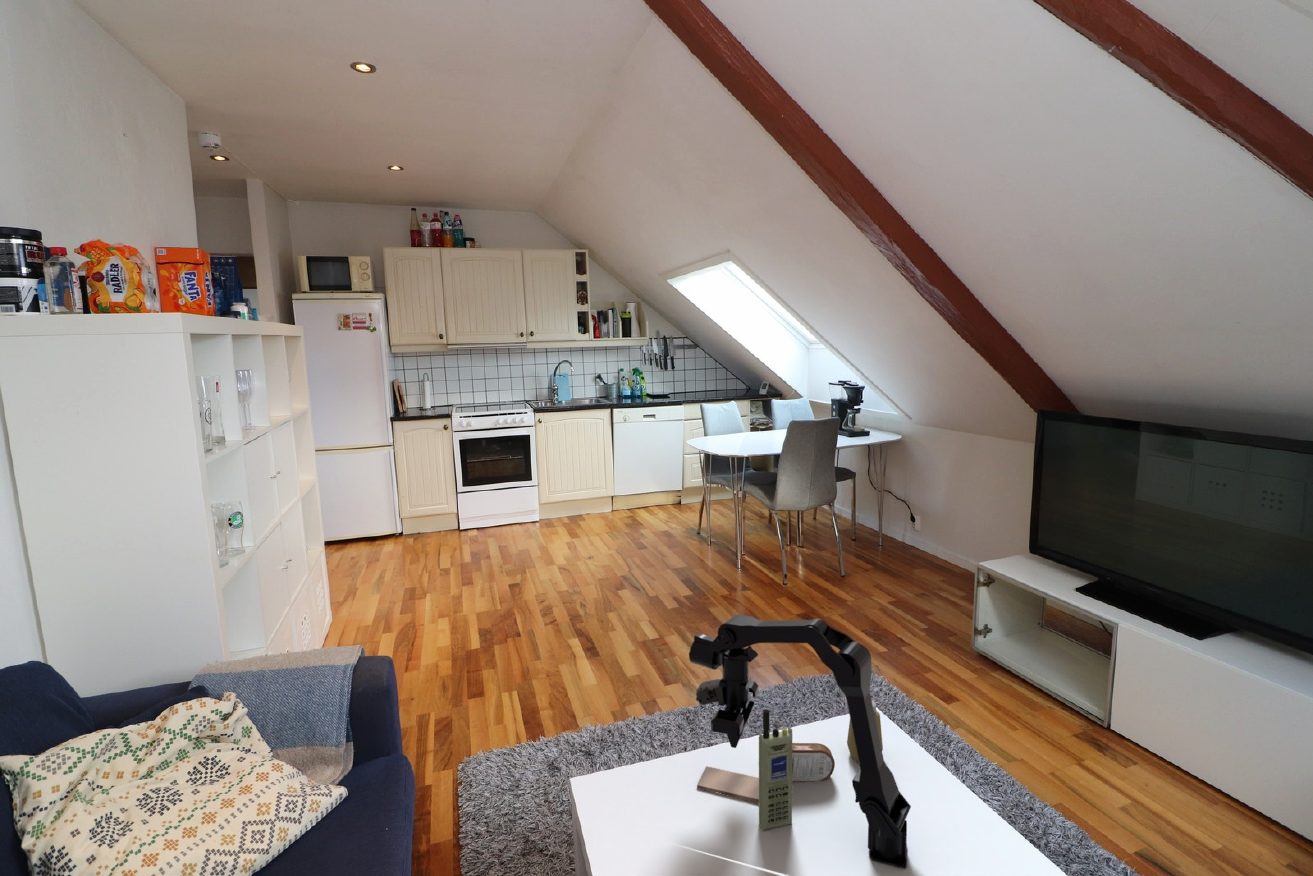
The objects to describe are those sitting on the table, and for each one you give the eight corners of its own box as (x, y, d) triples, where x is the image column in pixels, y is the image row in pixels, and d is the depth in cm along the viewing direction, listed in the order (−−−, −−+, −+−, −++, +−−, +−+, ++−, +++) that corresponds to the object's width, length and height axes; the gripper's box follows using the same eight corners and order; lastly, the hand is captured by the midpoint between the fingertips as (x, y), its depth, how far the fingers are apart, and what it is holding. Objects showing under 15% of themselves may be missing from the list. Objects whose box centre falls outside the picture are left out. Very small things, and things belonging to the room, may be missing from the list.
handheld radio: (763, 833, 126) (763, 716, 124) (757, 822, 130) (756, 707, 127) (794, 826, 128) (794, 710, 125) (786, 815, 131) (787, 702, 129)
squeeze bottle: (887, 771, 145) (889, 696, 143) (852, 771, 145) (853, 697, 143) (875, 749, 153) (877, 679, 151) (842, 750, 153) (843, 679, 151)
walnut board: (775, 786, 140) (775, 781, 140) (768, 807, 134) (768, 801, 134) (706, 771, 146) (706, 766, 146) (697, 790, 140) (696, 785, 140)
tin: (830, 775, 144) (832, 741, 143) (835, 784, 141) (837, 749, 140) (765, 776, 143) (767, 741, 142) (768, 785, 140) (770, 749, 139)
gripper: (712, 650, 149) (712, 713, 150) (686, 689, 131) (687, 759, 133) (758, 657, 145) (759, 722, 146) (738, 698, 127) (739, 770, 129)
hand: (736, 741), depth 139 cm, fingers open, 4 cm apart
